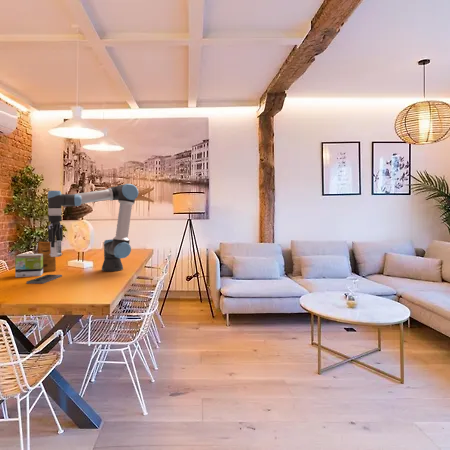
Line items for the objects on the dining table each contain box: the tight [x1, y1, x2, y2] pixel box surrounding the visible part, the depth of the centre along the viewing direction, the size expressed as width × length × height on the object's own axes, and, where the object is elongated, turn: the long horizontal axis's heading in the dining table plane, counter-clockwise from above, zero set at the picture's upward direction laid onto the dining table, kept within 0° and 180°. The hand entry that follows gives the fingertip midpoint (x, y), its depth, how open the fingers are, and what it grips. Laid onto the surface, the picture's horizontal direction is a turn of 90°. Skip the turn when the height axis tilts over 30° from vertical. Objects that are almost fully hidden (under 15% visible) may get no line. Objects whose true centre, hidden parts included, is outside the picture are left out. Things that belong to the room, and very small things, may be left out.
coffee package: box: [36, 241, 57, 273], centre depth 235 cm, size 10×12×22 cm
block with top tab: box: [49, 239, 64, 258], centre depth 202 cm, size 4×7×10 cm, turn 88°
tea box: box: [14, 253, 44, 278], centre depth 217 cm, size 15×10×15 cm
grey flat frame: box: [26, 274, 63, 285], centre depth 203 cm, size 22×10×2 cm, turn 179°
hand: (56, 251), depth 202 cm, fingers closed on block with top tab, 4 cm apart
